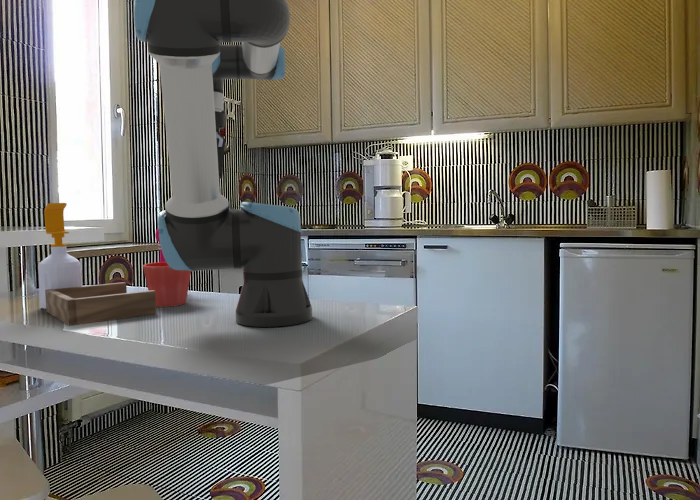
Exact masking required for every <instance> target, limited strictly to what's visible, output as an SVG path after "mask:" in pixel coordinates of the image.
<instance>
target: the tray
mask: <svg viewBox="0 0 700 500" xmlns="http://www.w3.org/2000/svg"><path fill="white" fill-rule="evenodd" d="M45 297H46V309H45V310H46V311H45V312H46V313H48V314H49V315H51V316H53V317H55V318H56V319H58V320H59V319H60V320H59V321H61V322H63V323H65V324H66V325H68V326H75V324H76V325H82V324H90V323H96V322H105V321H110V320H111V321H112V320H119V319H128V318H133V317H141V316H142V317H143V316H149V315H156V314H157V306H156V300H155V291H154V290H150V291H148V290H142V291H134V292H133V291H132V292H127V282H125V281H123V282H112V283H111V282H110V283H103V284H94V285H93V284H91V285H82V286H80V287H70V288H59V289H49V290H45Z"/></svg>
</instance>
